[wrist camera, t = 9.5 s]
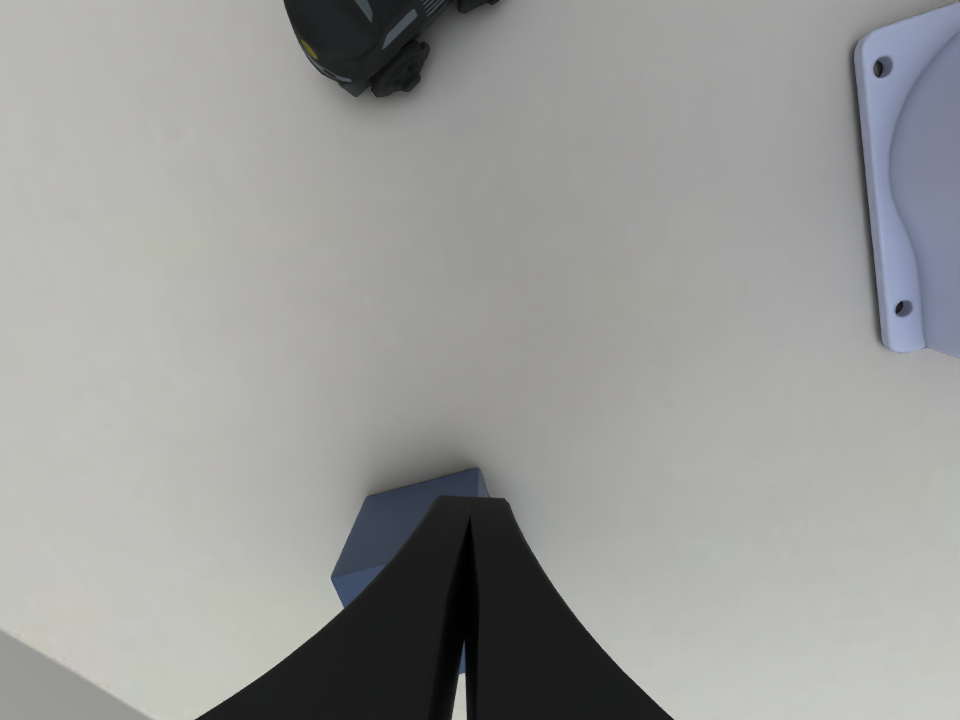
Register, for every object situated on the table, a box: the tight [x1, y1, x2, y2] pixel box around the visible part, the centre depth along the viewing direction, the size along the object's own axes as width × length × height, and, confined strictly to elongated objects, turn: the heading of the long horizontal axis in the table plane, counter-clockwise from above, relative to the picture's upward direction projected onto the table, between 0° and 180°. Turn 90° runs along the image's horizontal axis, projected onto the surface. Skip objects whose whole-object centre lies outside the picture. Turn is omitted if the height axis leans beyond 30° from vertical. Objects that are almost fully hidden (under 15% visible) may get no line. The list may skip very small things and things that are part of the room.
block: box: [331, 468, 490, 674], centre depth 18 cm, size 4×4×4 cm
